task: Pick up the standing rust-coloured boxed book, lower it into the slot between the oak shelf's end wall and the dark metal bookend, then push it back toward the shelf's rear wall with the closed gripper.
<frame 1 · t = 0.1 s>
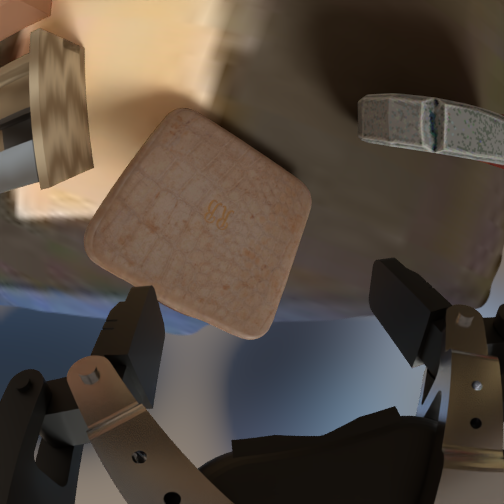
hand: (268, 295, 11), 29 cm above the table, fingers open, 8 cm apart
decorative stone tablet: (422, 127, 37), on the table
case: (203, 210, 39), on the table
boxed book: (20, 20, 23), on the table
shelf: (39, 121, 30), on the table
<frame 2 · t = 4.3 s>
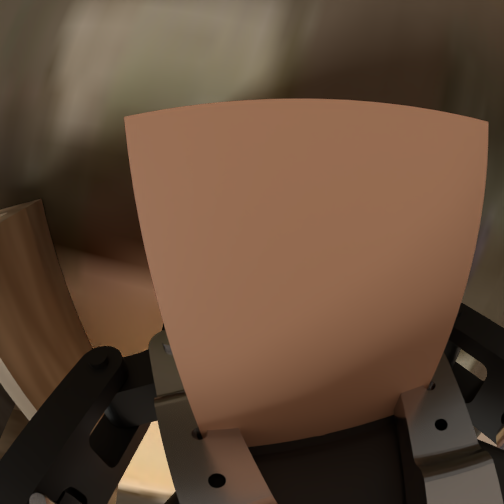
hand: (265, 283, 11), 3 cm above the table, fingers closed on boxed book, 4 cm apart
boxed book: (256, 252, 14), on the table, touching gripper
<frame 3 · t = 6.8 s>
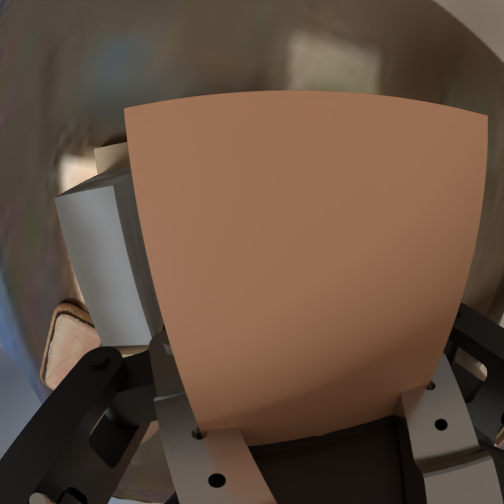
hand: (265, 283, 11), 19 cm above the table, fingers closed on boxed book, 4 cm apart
case: (109, 374, 38), on the table
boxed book: (256, 251, 14), point 16 cm above the table, touching gripper
shelf: (192, 213, 29), on the table
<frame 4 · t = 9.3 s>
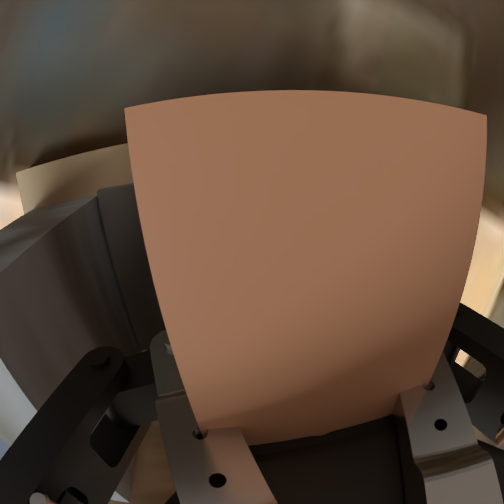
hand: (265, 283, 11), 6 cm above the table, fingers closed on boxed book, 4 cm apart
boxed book: (256, 251, 14), point 3 cm above the table, touching gripper
shelf: (179, 274, 18), on the table
when the fingers open (6 cm above the table, at t = 10.4 s): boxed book stays where it is, resting on shelf.
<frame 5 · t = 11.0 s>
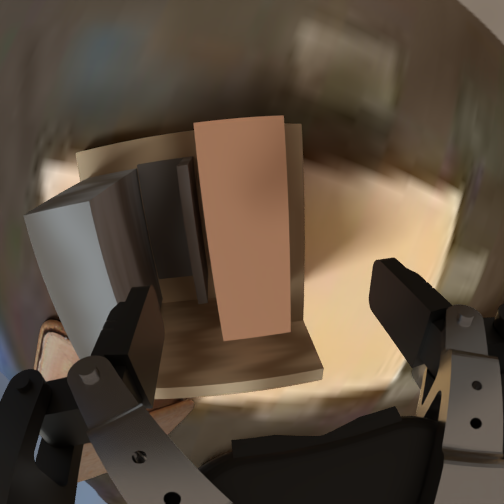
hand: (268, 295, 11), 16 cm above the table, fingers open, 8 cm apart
case: (102, 391, 34), on the table
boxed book: (235, 194, 24), point 1 cm above the table, touching shelf
shelf: (187, 224, 26), on the table
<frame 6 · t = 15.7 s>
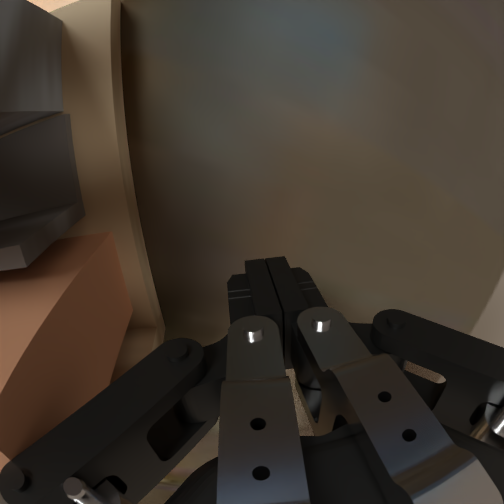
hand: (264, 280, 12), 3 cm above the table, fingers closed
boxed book: (24, 283, 12), point 2 cm above the table, touching hand, shelf
shelf: (3, 202, 12), on the table
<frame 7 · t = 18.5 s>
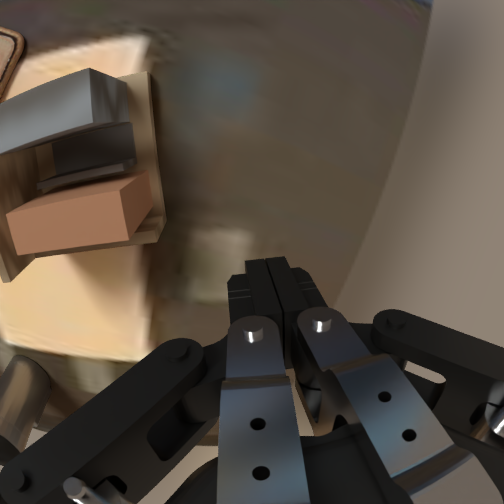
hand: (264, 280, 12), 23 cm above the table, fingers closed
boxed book: (100, 196, 30), point 1 cm above the table, touching shelf
shelf: (91, 159, 30), on the table
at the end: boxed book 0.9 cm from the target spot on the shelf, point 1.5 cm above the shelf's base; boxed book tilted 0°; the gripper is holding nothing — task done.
